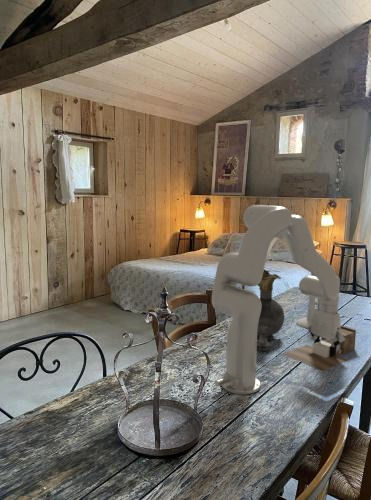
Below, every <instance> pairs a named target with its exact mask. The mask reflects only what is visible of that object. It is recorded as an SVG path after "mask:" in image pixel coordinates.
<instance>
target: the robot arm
mask: <svg viewBox="0 0 371 500" xmlns="http://www.w3.org/2000/svg"><path fill="white" fill-rule="evenodd" d="M242 218H243V222H244V226H245V227H246V228H248V229H247V230H246V231H245V233H244V235H243V236H242V241H241V243H240V248H239V251H238V252H228V253H226V254H224V255H223V256H222V257H221V258H220V260H219V262H218V264H217V267H216V271H215V275H214V276H215V277H214V281H213V282H214V283H213V287H212V293H211V304H212V307H213V308H214V309H215V310H216V311H217V312H219V313H221V314H223V315H226V316H228V317H230V318H231V321H230V324H229V325H228V327H227V331H226V360H225V361H226V362H225V363H226V364H225V372H223V376H222V377H221V378H219V379H216V380H215V381H214V385H215V387H217V388H218V387H222V388H223V389H224V390H225V391H227V392H229V393H232V394H235V395H236V394H237V395H251V394H254V393H257V392H258V391H259V390H260V389H261V381H260V380H259V379H258V378H256V376H257V375H256V374H257V353H258V352H257V351H258V349H257V341H258V339H257V329H258V322H259V317H260V313H261V308H262V305H261V301H260V296H258V295H257V294H256V293H254V292H253V291H250V290H247V289H245V288H244V289H242V287H238V284H239V285H241V286H242V285H245V287H256V286H258V284H259V283H260V282H261V279H262V276H263V272H264V270H265V267H266V266H265V265H266V261H267V256H268V251H269V248H270V245H271V243H272V241H273V240H274V238H279V239H283V240H285V243H286V245H287V248H288V250H289V254H290V256H291V259H292V260H293V263H295V264H297V266H300V267H301V268H303V269H304V270H306V271H308V272H310V274H311V273H312V274H314V275H315V276H311V275H306V276H304V277H302V278H301V279H300V281H299V284H298V287H299V291H300V292H301V293H302V294H304V295H306V296H308V297H309V296H311V297H315V299H317V300H315V306H316V307H315V311H314V314H313V318H312V325H311V326H310V327H308V328H307V330H308V332H309V333H310V335H311V337H312V341H313V343H316V342H319V341H321V338H322V337H323V338H326V339H329V340H330V342H331V346H330V352H329V356H330V357H332V356H334V355H335V354H336V349H337V345H339V344H340V343H341V342H343V341H345V338H344V336H343V335H342V333H341V332H340V329H341V315H340V312H339V303H340V302H339V300H340V290H341V289H340V288H341V287H340V286H341V278H340V277H339V276H338V275H337V273H336V271H335V269H334V267H333V266H332V265H331V264H330V263H329V262H328V260H326V259H325V258H324V257H323V256H322V254H320V253H319V252H318V251H317V249H316V246H315V242H314V239H313V237H312V234H311V231H310V229H309V225H308V222H307V219H305V218H304V217H303V216H301V215H298V214H292V211H290V209H288V208H287V207H285V206H281V205H266V204H253V205H250V206H248V207H247V208H246V209H245V210H244V212H243V217H242ZM337 338H339V340H338V341H337Z"/></svg>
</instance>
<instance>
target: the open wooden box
mask: <svg viewBox="0 0 371 500" xmlns="http://www.w3.org/2000/svg"><path fill="white" fill-rule="evenodd" d="M340 332H341V333H342V335H343V336H344V338H345V341H343V342H342V349H340V350H338V353H336V354H335V355H334V356H332V357H330V356H329V357H323V356H320V355H318V354H315V353H313V352H312V349H313V346H310V345H308V344H306V345H303V346H299V347H297V348H295V349H292V350H289V351H287V352H284V353H282V355H284V356H286V357H288V358H290V359H294V360H296V361H298V362H301V363H303V364H305V365H308V366H310V367H312V368H314V369H317V370H319V371H323V372H324V371H325V372H326V371H327V370H328V369H331V368H333V367H336V366H337V365H338V366H339V365H340V364H342V363H344V362H347V361H348V359H345V358H342V357H341V356H342V355H345V354H347V353H350V352H352V351H354V350H355V348H356V346H355V345H356V334H357V330H356V329H355V328H352V327H348V326H344V325H341V329H340ZM320 339H321V341H322V340H324V339H326V338H323V337H320Z"/></svg>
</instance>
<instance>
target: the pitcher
mask: <svg viewBox="0 0 371 500" xmlns="http://www.w3.org/2000/svg"><path fill="white" fill-rule="evenodd" d="M270 272H271V271H270V270H266V269H264V272H263V276H262V279H261V282H260V283H259V284H258V285H257V286H258V287H259V291H260V292H259V299H260V301H261V305H262V308H261V313H260V317H259V322H258V329H257V340H259V333H260V326H261V325H263V323H264V325H266V326H267V334H268V336H267V341H272V340H274V338H275V336H274V335H275V334H278V332H280V331H281V329H282V328H283V325H284V322H285V313H284V312H285V311H284V309H283V307H282V306H281V304H280V303H279V302H278V301H276V300H274V299H273V289H274V287H273V285H274V281H275V280H277V279H279V280H282V278H281V276H279V275H278V274H275V273H272V274H271V273H270ZM245 287H246V285H242V284H241V289H244V290H245Z"/></svg>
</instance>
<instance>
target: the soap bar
mask: <svg viewBox="0 0 371 500" xmlns="http://www.w3.org/2000/svg"><path fill="white" fill-rule="evenodd" d="M338 340H339V338H337V341H338ZM330 346H331V342H330V340H329V339H324V340H322V341H319V342H316V343H314V342H313V343H312V347H313V349H312V352H313V353H315V354H318V355H320V356H323V357H329V352H330ZM340 349H342V342H341V343H340V344H339V345H337V349H336V353H338V350H340Z"/></svg>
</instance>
